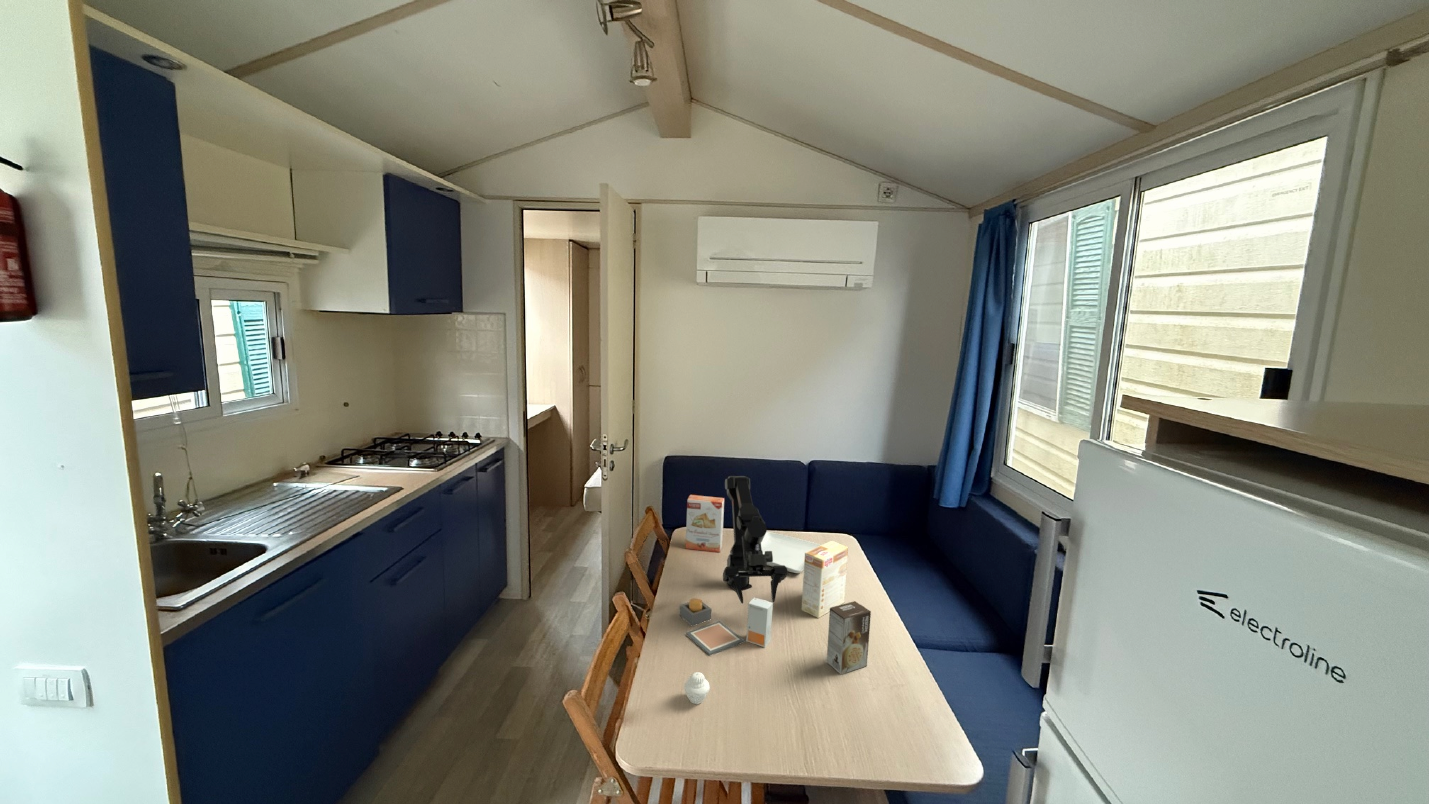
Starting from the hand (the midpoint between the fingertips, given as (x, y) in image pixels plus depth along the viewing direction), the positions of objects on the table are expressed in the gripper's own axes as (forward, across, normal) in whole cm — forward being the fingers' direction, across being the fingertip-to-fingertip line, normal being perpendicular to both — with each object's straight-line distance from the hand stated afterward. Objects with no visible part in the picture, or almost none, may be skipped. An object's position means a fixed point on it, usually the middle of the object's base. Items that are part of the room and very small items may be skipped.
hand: (758, 602), depth 162 cm
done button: (-2, -17, +13) cm, 22 cm away
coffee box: (+18, +22, -3) cm, 29 cm away
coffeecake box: (-3, +25, +18) cm, 31 cm away
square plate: (-30, +21, +44) cm, 57 cm away
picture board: (+8, -12, +7) cm, 16 cm away
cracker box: (-36, -9, +50) cm, 63 cm away
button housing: (0, -17, +15) cm, 22 cm away
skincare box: (+10, 0, +5) cm, 11 cm away
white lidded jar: (+26, -20, -11) cm, 35 cm away
